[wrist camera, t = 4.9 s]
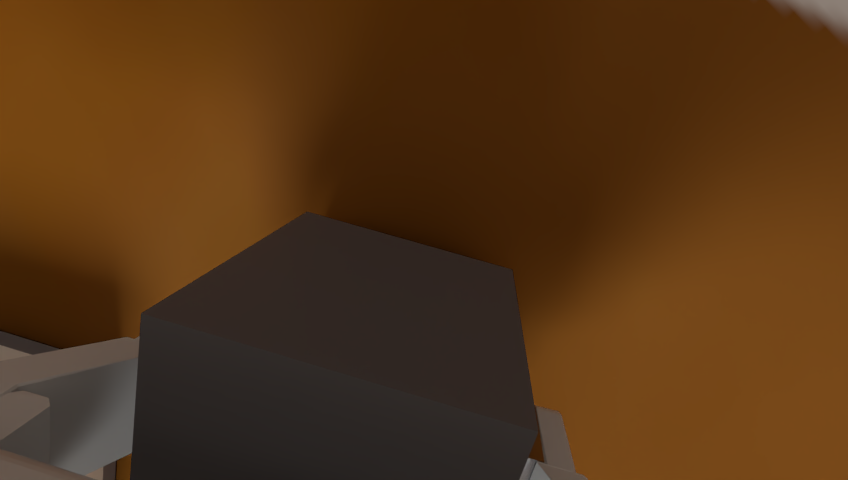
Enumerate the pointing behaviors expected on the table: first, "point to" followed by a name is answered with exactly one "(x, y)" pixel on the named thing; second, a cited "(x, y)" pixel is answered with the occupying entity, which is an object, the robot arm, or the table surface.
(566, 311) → the table surface
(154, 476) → the plug
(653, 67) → the table surface
